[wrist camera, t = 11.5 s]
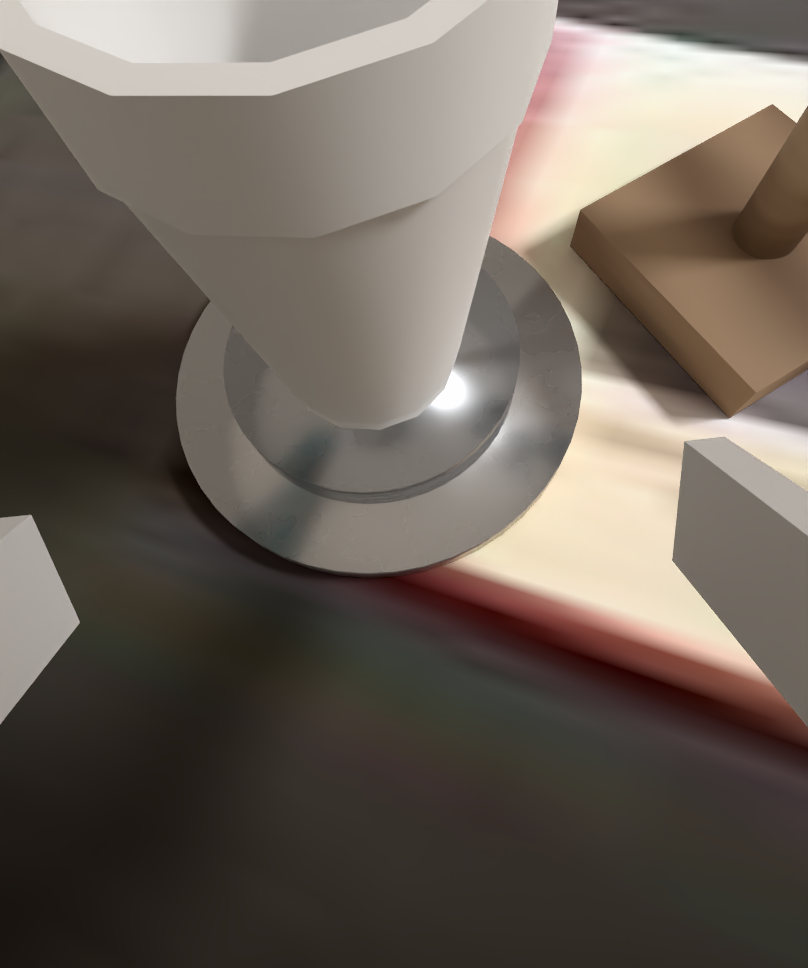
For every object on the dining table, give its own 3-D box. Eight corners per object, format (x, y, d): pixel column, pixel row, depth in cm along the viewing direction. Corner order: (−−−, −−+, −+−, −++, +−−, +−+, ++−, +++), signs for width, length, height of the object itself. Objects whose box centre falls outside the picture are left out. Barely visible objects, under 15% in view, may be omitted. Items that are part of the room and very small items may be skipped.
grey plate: (478, 184, 26) (481, 135, 24) (651, 482, 21) (677, 457, 19) (151, 302, 25) (120, 263, 23) (244, 645, 20) (217, 639, 18)
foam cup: (195, 394, 21) (-171, -24, 8) (334, 218, 23) (205, -310, 11) (415, 519, 18) (351, 198, 6) (545, 311, 21) (683, -221, 9)
